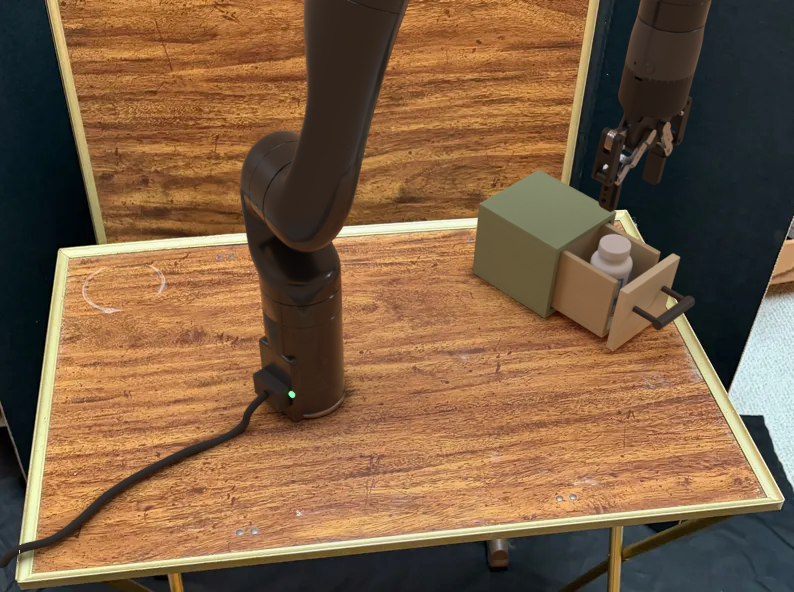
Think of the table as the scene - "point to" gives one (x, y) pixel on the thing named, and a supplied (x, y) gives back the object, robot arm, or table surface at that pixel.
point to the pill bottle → (614, 261)
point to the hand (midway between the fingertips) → (628, 194)
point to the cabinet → (532, 236)
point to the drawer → (595, 290)
